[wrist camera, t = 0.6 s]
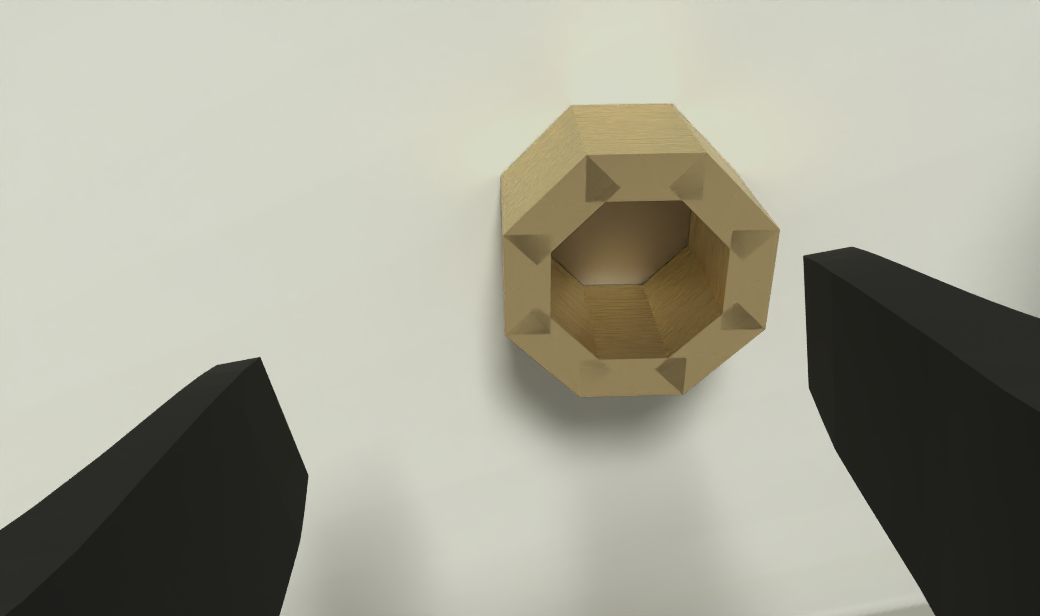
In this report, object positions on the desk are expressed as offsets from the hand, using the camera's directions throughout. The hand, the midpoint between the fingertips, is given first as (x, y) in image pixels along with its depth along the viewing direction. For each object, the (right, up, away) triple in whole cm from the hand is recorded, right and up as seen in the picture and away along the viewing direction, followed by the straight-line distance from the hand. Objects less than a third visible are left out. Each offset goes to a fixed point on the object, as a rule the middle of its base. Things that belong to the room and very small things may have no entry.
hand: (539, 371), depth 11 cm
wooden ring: (+2, +3, +9) cm, 10 cm away
